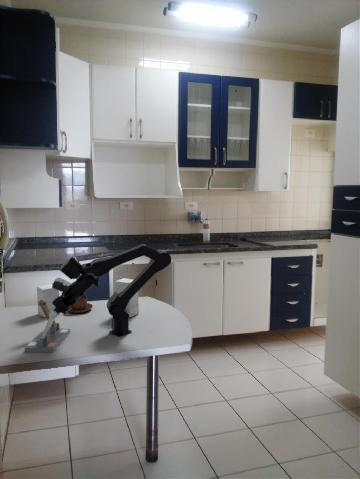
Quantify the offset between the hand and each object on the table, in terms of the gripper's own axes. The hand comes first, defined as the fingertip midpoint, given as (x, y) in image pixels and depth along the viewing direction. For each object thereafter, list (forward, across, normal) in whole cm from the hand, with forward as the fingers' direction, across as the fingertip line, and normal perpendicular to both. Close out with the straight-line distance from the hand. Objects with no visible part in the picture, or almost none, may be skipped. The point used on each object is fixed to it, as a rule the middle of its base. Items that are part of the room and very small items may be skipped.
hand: (53, 313), depth 159 cm
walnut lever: (+4, 0, +4) cm, 5 cm away
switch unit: (+6, +7, +6) cm, 11 cm away
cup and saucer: (+6, -30, +7) cm, 31 cm away
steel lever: (+4, +13, +4) cm, 14 cm away
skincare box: (-10, -26, +23) cm, 36 cm away
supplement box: (+14, -24, -2) cm, 27 cm away
